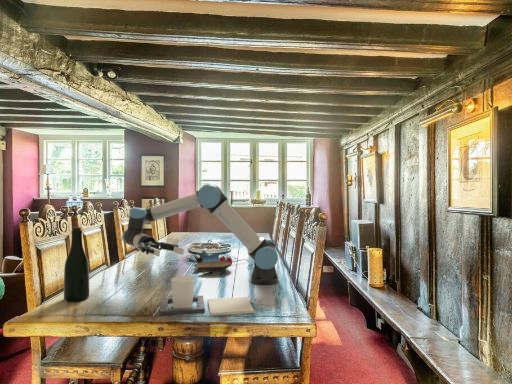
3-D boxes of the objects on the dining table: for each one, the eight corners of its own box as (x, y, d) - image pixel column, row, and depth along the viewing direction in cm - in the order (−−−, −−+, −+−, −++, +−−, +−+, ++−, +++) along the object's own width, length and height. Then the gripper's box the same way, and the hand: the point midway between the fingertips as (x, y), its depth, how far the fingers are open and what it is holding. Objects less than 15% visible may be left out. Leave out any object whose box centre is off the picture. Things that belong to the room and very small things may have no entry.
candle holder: (189, 311, 144) (189, 282, 143) (167, 309, 146) (167, 281, 145) (197, 303, 153) (197, 276, 153) (177, 302, 155) (177, 275, 155)
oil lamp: (201, 278, 197) (201, 264, 197) (187, 267, 224) (187, 255, 224) (237, 274, 207) (237, 261, 207) (220, 264, 234) (220, 252, 234)
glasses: (218, 262, 240) (218, 255, 239) (236, 259, 251) (236, 252, 251) (231, 265, 230) (231, 258, 230) (249, 262, 241) (249, 255, 241)
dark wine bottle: (71, 294, 164) (72, 225, 164) (93, 295, 164) (93, 225, 163) (58, 302, 153) (58, 228, 153) (81, 302, 153) (81, 228, 153)
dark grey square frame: (202, 298, 160) (202, 295, 160) (204, 312, 142) (204, 308, 142) (162, 300, 156) (162, 297, 156) (159, 315, 139) (159, 311, 139)
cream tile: (246, 299, 160) (246, 296, 160) (254, 312, 142) (254, 310, 142) (207, 301, 156) (207, 299, 156) (210, 315, 139) (210, 313, 139)
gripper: (164, 249, 181) (190, 259, 167) (120, 250, 161) (146, 262, 148) (166, 234, 180) (193, 244, 167) (122, 235, 161) (149, 245, 148)
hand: (171, 252), depth 158 cm, fingers open, 13 cm apart
